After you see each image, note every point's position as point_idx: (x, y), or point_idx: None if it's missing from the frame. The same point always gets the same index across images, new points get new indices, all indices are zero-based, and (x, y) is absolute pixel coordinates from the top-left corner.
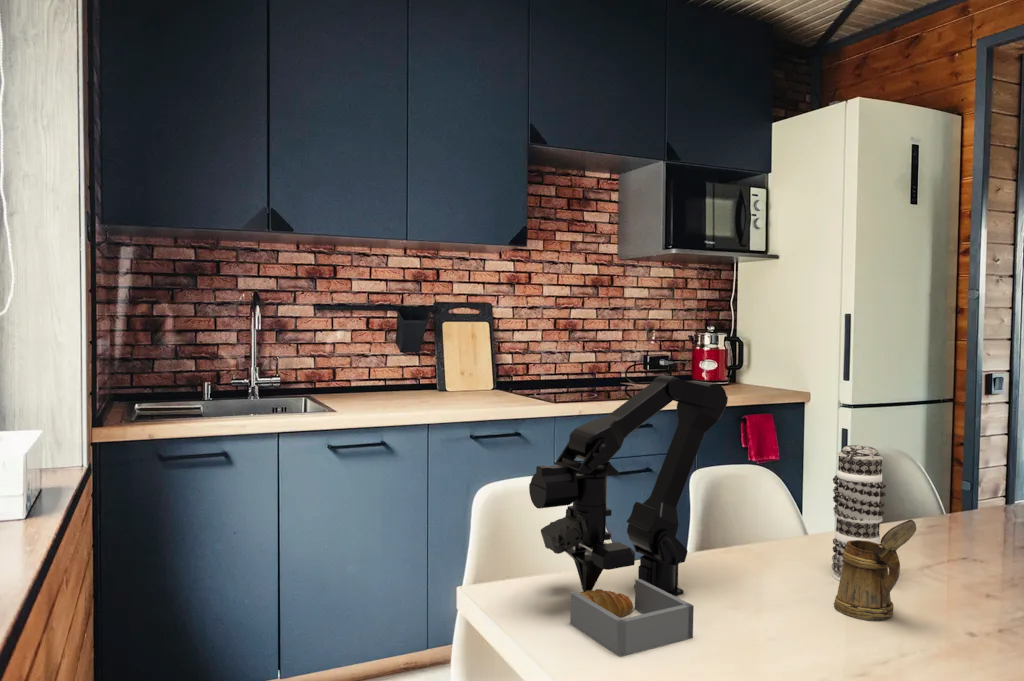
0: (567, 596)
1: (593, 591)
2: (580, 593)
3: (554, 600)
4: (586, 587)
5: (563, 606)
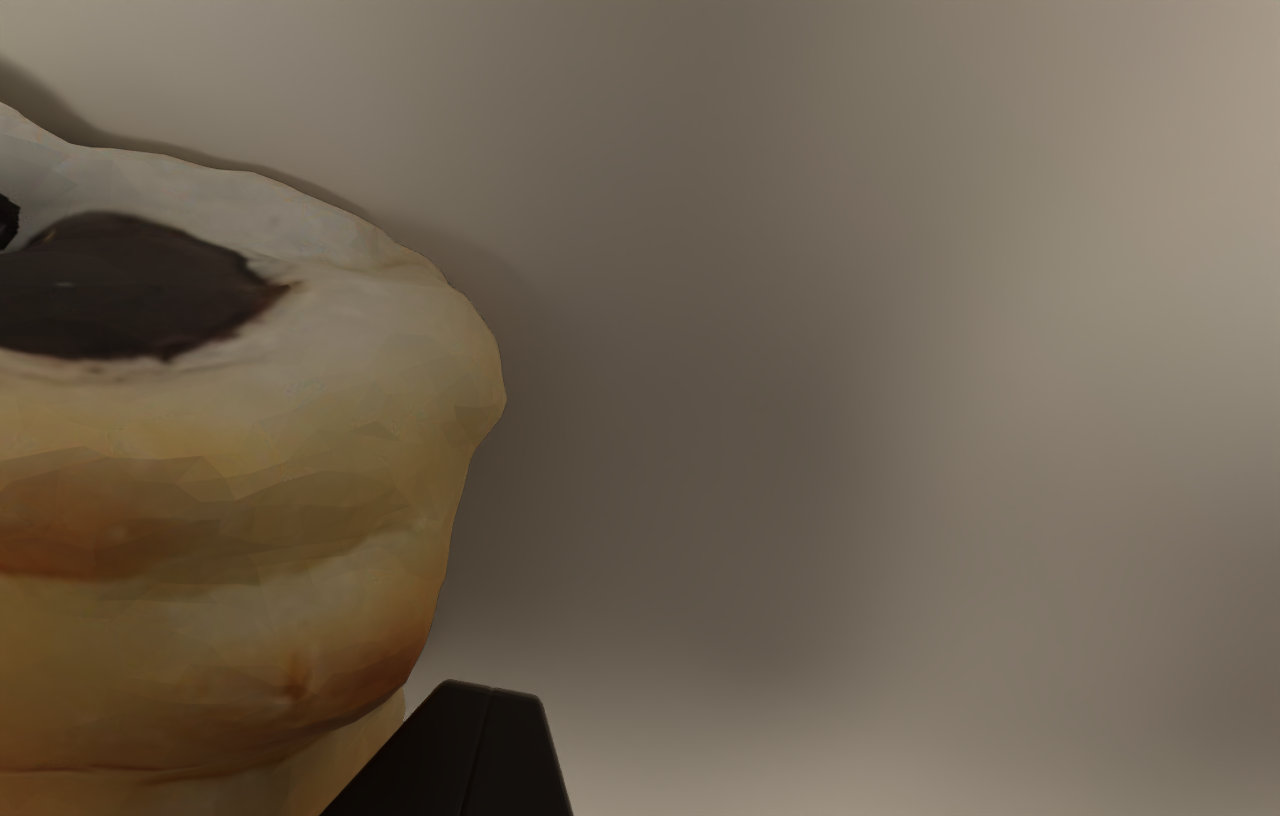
0: (1054, 567)
1: (3, 715)
2: (94, 433)
3: (1128, 252)
4: (354, 777)
5: (751, 173)
